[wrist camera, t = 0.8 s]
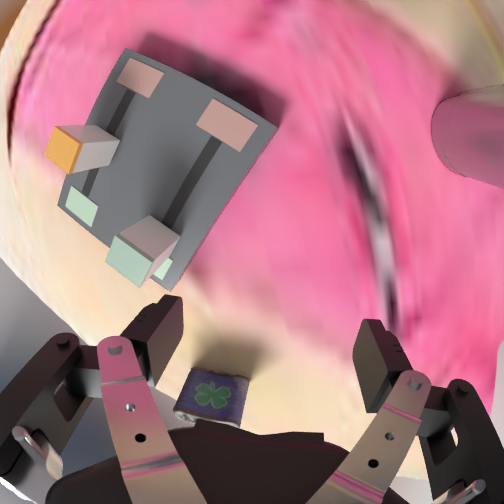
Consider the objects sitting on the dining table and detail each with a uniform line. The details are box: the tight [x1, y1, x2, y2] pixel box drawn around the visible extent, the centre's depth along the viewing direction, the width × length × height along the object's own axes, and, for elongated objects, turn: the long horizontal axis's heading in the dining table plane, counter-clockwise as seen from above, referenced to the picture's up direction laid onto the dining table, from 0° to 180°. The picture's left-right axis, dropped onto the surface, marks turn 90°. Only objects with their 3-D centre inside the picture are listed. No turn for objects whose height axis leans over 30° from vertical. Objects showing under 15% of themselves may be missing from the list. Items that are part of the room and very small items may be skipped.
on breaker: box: [105, 215, 181, 288], centre depth 25 cm, size 3×4×7 cm
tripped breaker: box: [45, 125, 120, 174], centre depth 22 cm, size 3×4×7 cm
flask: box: [173, 367, 249, 428], centre depth 35 cm, size 9×3×11 cm, turn 85°
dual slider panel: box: [58, 48, 278, 292], centre depth 28 cm, size 21×19×3 cm
